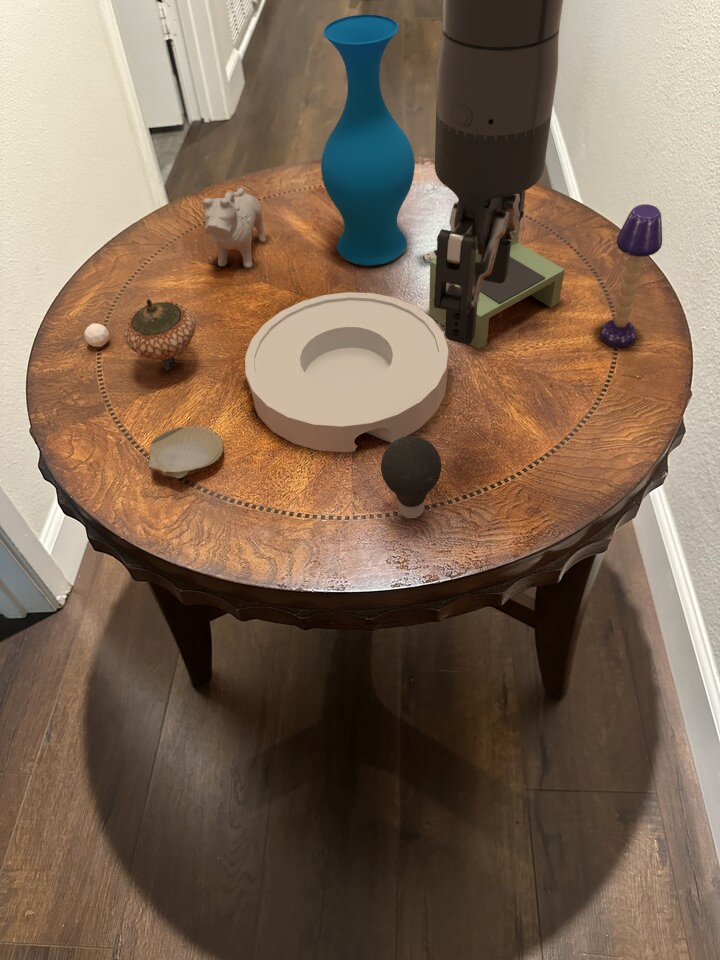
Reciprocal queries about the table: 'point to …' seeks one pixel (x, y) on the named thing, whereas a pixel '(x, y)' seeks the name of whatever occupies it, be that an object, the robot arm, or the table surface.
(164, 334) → the acorn
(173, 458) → the seashell
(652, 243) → the toy lamp
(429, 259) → the usb flash drive
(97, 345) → the polyhedron
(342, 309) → the beige round base
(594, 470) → the table surface
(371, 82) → the vase
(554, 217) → the table surface
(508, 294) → the bench
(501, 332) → the table surface
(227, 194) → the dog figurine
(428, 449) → the light bulb
